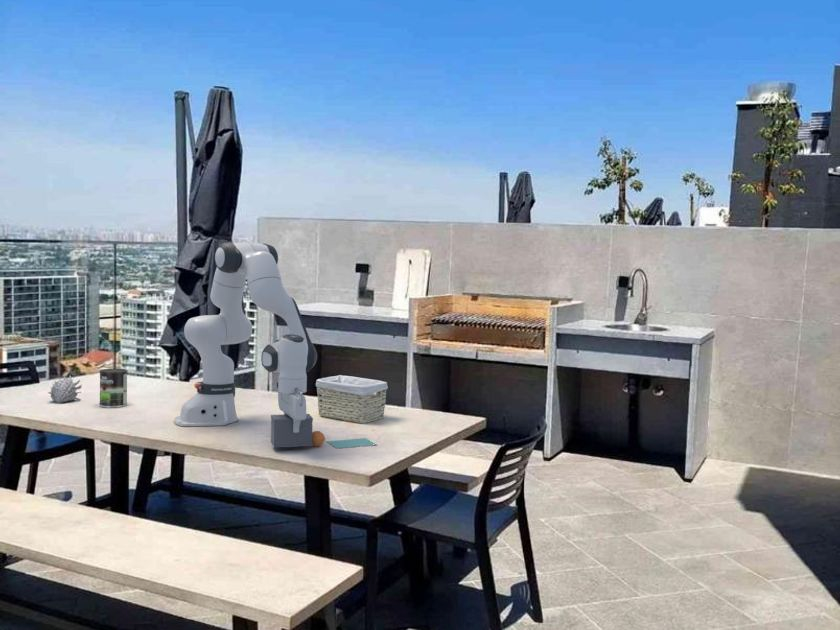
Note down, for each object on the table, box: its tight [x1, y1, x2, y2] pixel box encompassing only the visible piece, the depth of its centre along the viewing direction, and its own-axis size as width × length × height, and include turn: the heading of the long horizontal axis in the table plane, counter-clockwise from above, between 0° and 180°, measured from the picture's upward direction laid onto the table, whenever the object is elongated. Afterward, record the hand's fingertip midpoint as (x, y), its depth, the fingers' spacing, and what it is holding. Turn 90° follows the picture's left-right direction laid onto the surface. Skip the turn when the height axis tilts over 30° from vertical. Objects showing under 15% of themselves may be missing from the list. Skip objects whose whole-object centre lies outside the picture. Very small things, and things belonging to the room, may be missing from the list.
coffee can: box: [99, 368, 128, 409], centre depth 309 cm, size 10×10×14 cm
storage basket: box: [315, 374, 389, 424], centre depth 298 cm, size 24×16×15 cm
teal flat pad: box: [325, 437, 378, 449], centre depth 257 cm, size 14×10×1 cm
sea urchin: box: [47, 375, 83, 404], centre depth 314 cm, size 12×11×12 cm
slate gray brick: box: [270, 413, 314, 448], centre depth 248 cm, size 12×7×9 cm, turn 108°
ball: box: [312, 430, 326, 447], centre depth 252 cm, size 5×5×5 cm
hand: (291, 429), depth 248 cm, fingers closed on slate gray brick, 7 cm apart
